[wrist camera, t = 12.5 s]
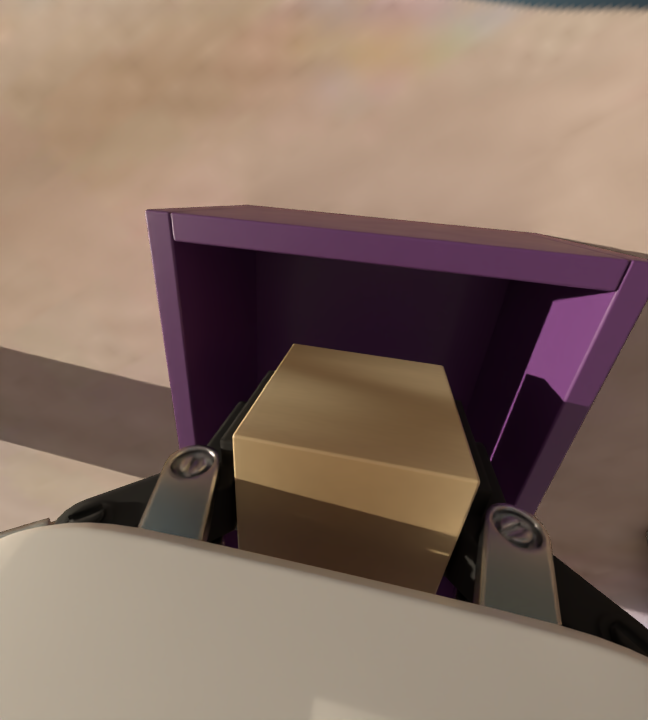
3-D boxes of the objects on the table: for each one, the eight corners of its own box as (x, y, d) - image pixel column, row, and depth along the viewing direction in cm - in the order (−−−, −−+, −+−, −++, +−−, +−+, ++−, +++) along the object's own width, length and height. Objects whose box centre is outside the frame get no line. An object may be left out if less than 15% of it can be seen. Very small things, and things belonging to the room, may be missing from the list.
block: (288, 454, 14) (238, 579, 9) (293, 342, 11) (230, 435, 7) (412, 478, 13) (424, 624, 9) (443, 364, 11) (482, 482, 6)
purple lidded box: (246, 204, 16) (143, 208, 10) (538, 233, 15) (669, 263, 8) (251, 459, 24) (195, 566, 17) (446, 497, 22) (472, 631, 15)
